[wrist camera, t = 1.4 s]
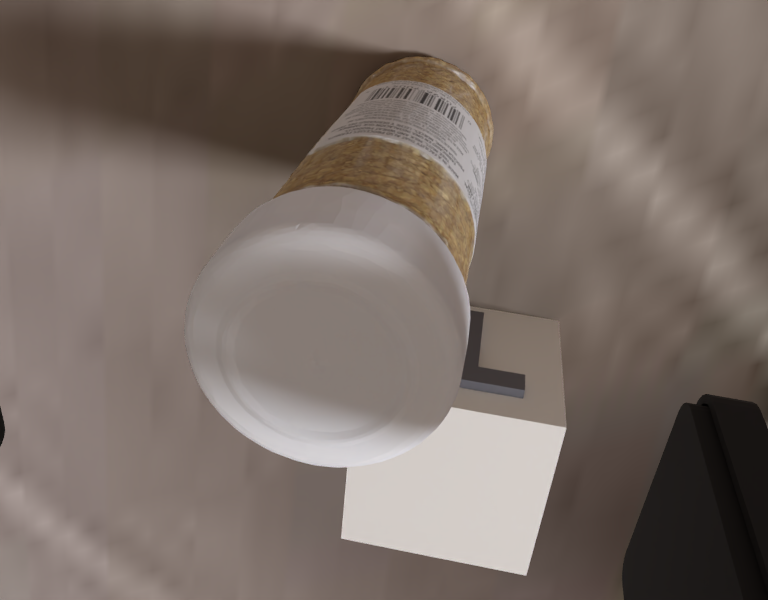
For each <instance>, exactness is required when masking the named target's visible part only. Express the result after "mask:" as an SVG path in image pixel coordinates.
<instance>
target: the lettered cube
mask: <svg viewBox="0 0 768 600" xmlns="http://www.w3.org/2000/svg"><path fill="white" fill-rule="evenodd" d="M565 431H566V414H565V400H564V386H563V371H562V357H561V343H560V329H559V321H558V320H552V319H546V318H540V317H534V316H528V315H521V314H515V313H509V312H503V311H497V310H491V309H485V308H479V307H473V306H470V327H469V337H468V345H467V350H466V356H465V362H464V368H463V373H462V378H461V383H460V386H459V390H458V393H457V396H456V399H455V401H454V403H453V405H452V407H451V409H450V411H449V413H448V414H447V416H446V417H445V419H444V420H443V421H442V423H441V424H440V425H439V426H438V428H437V429H436V430H435V431H434V432H433V433H432V434H430V435H429V436H428V437H427V438H426V439H425V440H424V441H423V442H422V443H420V444H419V445H417V446H415V447H414V448H412V449H410V450H409V451H407V452H405V453H403V454H401V455H398V456H396V457H394V458H391V459H389V460H386V461H383V462H379V463H374V464H370V465H365V466H355V467H347V477H346V489H345V500H344V512H343V523H342V535H341V539H346V540H351V541H356V542H361V543H366V544H371V545H376V546H381V547H386V548H391V549H396V550H401V551H406V552H411V553H416V554H421V555H426V556H431V557H436V558H441V559H446V560H451V561H456V562H461V563H466V564H471V565H476V566H481V567H486V568H491V569H496V570H501V571H506V572H511V573H516V574H521V575H526V574H527V571H528V567H529V563H530V560H531V556H532V552H533V549H534V545H535V541H536V538H537V534H538V530H539V527H540V523H541V519H542V516H543V512H544V508H545V505H546V501H547V497H548V494H549V490H550V486H551V483H552V479H553V475H554V472H555V468H556V464H557V461H558V457H559V453H560V450H561V446H562V442H563V439H564V435H565Z"/></svg>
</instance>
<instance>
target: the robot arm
mask: <svg viewBox="0 0 768 600" xmlns="http://www.w3.org/2000/svg"><path fill="white" fill-rule="evenodd" d="M4 433H5V426H4V421H3V416H2V412H1V408H0V446H1V444H2V441H3V438H4ZM622 583H623V593H624V600H768V428H767V425H766V423H765V420H764V418H763V416H762V413H761V411H760V409H759V407H758V406H757V404H755V403H753V402H748V401H743V400H737V399H731V398H726V397H720V396H715V395H709V394H705V395H702V397H701V398H700V399H699V400H698V402H697V404H691V403H684V404H683V405H682V406H681V408H680V410H679V412H678V415H677V417H676V420H675V423H674V426H673V428H672V431H671V434H670V436H669V439H668V442H667V444H666V447H665V450H664V452H663V455H662V458H661V460H660V463H659V466H658V468H657V471H656V474H655V476H654V479H653V482H652V484H651V487H650V490H649V492H648V495H647V498H646V500H645V503H644V506H643V508H642V511H641V514H640V516H639V519H638V522H637V524H636V527H635V530H634V532H633V535H632V538H631V540H630V543H629V546H628V548H627V551H626V554H625V558H624V563H623V572H622Z"/></svg>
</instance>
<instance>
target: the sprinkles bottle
mask: <svg viewBox="0 0 768 600" xmlns="http://www.w3.org/2000/svg"><path fill="white" fill-rule="evenodd" d="M492 138H493V122H492V117H491V111H490V107H489V105H488V102H487V100H486V98H485V96H484V94H483V92H482V91H481V90H480V88H479V86H478V85H477V83H476V82H475V81H474V80H473V79H472V78H471V77H470V76H469V75H468V74H467V73H465V72H463V71H461V70H460V69H459V68H458V67H456V66H455V65H453V64H450V63H446V62H444V61H442V60H441V59H438V58H433V57H420V56H415V57H406V58H403V59H400V60H397V61H395V62H392V63H387V64H385V65H384V66H382V67H381V68H380V69H378V70H377V71H375V72H374V73H373V74H371V75H370V76H369V77H368V78H367V79H366V80H365V81H364V83H363V84H362V85H361V87H360V88H359V91H358V93H357V95H356V96H355V98H354V99H353V101H352V103H351V105H350V106H349V107H348V108H347V109H346V110H345V112H344V113H343V114H342V115H341V116H340V117H339V118H338V119H337V120H336V121H335V122H334V123H333V124H332V126H331V127H330V128H329V129H328V130H327V131H326V133H325V134H324V135H323V136H322V137H321V138H320V140H319V141H318V142H317V143H316V144H315V146H314V147H313V148H312V149H311V150H310V152H309V153H308V154H307V156H306V157H305V158H304V160H303V161H302V162H301V163H300V165H299V166H298V168H297V169H296V170H295V171H294V172H293V173H292V174H291V176H290V178H289V180H288V181H287V182H286V183H285V184H284V185H283V187H282V188H281V189H280V191H279V192H278V193H277V194H276V195H275V197H274V198H273V199H272V200H270V201H268V202H266V203H264V204H262V205H260V206H258V207H257V208H256V209H255V210H253V211H252V212H251V213H249V214H248V215H247V216H246V217H245V218H244V219H243V220H242V221H241V222H240V223H239V224H238V225H237V226H236V228H235V229H234V230H233V231H232V232H231V233H230V235H229V236H228V237H227V238H226V239H225V241H224V242H223V243H222V245H221V246H220V247H219V248H218V250H217V251H216V252H215V254H214V255H213V256H212V258H211V259H210V260H209V262H208V263H207V264H206V265H205V267H204V268H203V269H202V271H201V273H200V274H199V276H198V278H197V280H196V282H195V284H194V286H193V288H192V291H191V294H190V296H189V299H188V303H187V307H186V314H185V327H184V335H185V347H186V351H187V355H188V359H189V362H190V365H191V368H192V371H193V373H194V375H195V378H196V380H197V382H198V384H199V386H200V387H201V389H202V391H203V392H204V394H205V395H206V397H207V398H208V400H209V401H210V402H211V404H212V405H213V406H214V408H215V409H216V410H217V411H218V412H219V413H220V415H221V416H223V417H224V418H225V419H226V420H227V421H228V422H229V423H230V424H231V425H232V426H233V427H234V428H235V429H236V430H238V431H239V432H240V433H242V434H243V435H244V436H246V437H247V438H249V439H250V440H252V441H254V442H255V443H257V444H259V445H260V446H262V447H264V448H266V449H268V450H270V451H272V452H274V453H277V454H279V455H282V456H285V457H287V458H290V459H293V460H295V461H299V462H303V463H307V464H312V465H317V466H326V467H340V468H341V467H355V466H365V465H370V464H374V463H379V462H383V461H386V460H389V459H391V458H394V457H396V456H398V455H401V454H403V453H405V452H407V451H409V450H410V449H412V448H414V447H415V446H417V445H419V444H420V443H422V442H423V441H424V440H425V439H426V438H427V437H428V436H429V435H430V434H432V433H433V432H434V431H435V430H436V429H437V428H438V426H439V425H440V424H441V423H442V421H443V420H444V419H445V417H446V416H447V414H448V413H449V411H450V409H451V407H452V405H453V403H454V401H455V399H456V396H457V393H458V390H459V386H460V383H461V378H462V373H463V368H464V362H465V356H466V350H467V345H468V337H469V327H470V303H469V296H468V292H467V289H466V280H467V277H468V271H469V267H470V264H471V261H472V257H473V254H474V248H475V242H476V234H477V226H478V220H479V213H480V207H481V201H482V195H483V188H484V181H485V174H486V161H487V158H488V156H489V152H490V149H491V146H492Z"/></svg>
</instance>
